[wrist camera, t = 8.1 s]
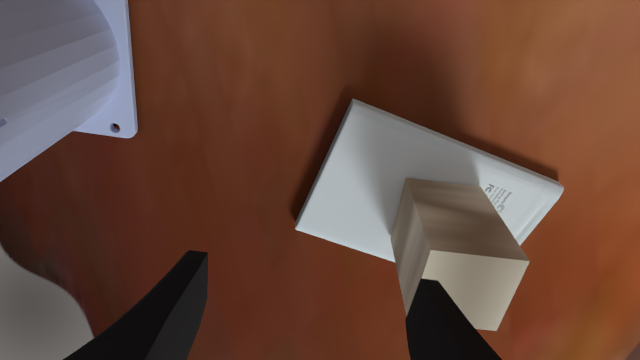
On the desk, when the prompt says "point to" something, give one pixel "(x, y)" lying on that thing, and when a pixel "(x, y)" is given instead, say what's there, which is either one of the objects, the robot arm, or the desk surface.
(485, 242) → the birch block
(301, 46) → the desk surface
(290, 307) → the desk surface
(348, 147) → the external hard drive
